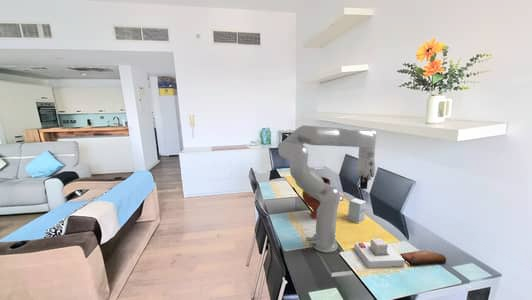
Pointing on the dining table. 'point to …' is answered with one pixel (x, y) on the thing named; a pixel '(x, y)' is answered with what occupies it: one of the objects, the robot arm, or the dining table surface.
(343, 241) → the dining table surface
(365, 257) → the socket plate
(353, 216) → the supplement box
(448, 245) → the dining table surface
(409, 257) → the sunglasses case
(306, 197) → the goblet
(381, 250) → the plug
